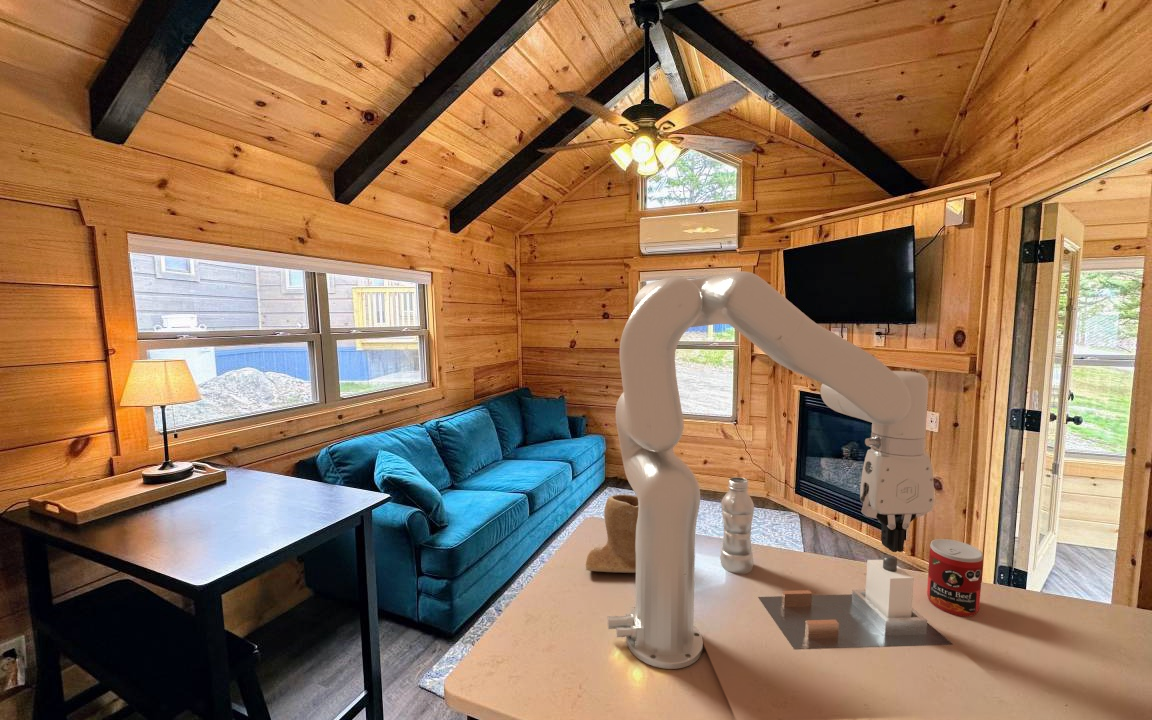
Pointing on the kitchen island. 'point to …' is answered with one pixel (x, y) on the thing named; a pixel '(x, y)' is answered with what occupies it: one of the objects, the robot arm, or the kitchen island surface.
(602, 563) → the tan suede boot
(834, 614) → the panel
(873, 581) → the plug
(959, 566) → the canned food
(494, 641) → the kitchen island surface
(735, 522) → the plastic bottle
